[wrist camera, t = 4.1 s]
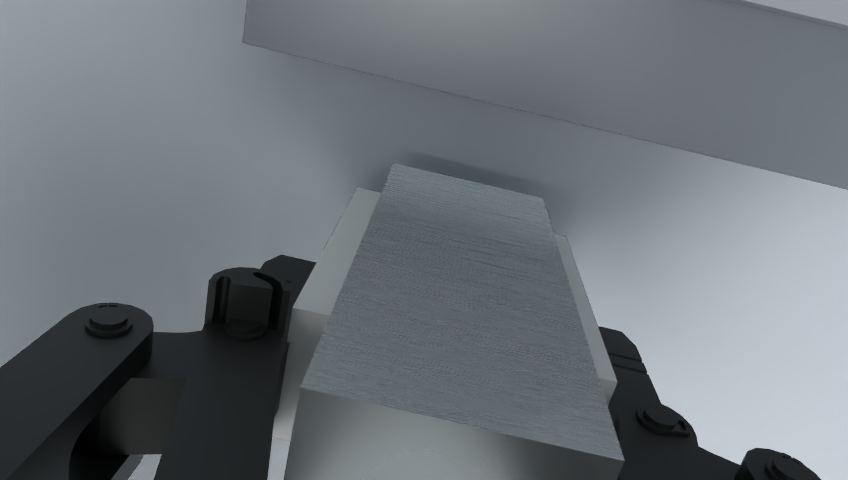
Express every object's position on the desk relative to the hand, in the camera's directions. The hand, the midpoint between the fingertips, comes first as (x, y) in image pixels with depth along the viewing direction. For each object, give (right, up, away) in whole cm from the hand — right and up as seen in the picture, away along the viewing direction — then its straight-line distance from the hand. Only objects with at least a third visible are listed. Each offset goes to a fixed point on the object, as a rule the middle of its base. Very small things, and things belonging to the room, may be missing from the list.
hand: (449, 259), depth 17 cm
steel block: (0, 0, +1) cm, 1 cm away
